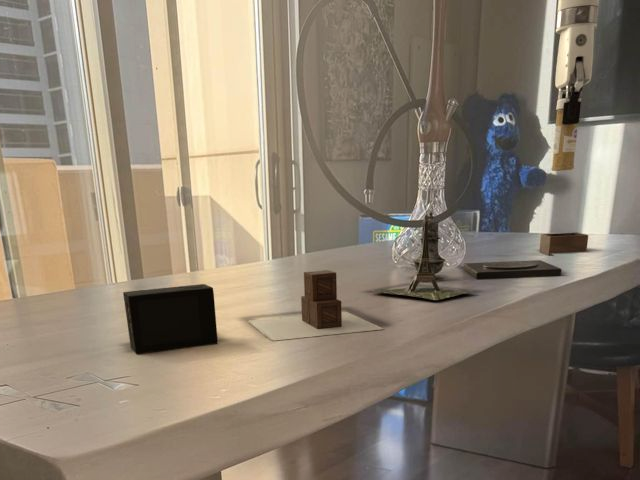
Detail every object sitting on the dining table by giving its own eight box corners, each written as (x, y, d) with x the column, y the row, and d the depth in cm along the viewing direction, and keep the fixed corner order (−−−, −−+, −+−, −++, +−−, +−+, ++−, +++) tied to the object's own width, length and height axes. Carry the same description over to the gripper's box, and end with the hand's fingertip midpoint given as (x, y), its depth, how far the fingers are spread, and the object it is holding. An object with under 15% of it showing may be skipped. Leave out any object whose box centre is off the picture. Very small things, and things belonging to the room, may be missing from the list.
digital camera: (207, 336, 91) (202, 282, 88) (218, 344, 86) (213, 286, 84) (129, 346, 88) (121, 290, 85) (136, 354, 83) (127, 295, 81)
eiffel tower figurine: (367, 294, 117) (366, 209, 111) (408, 287, 122) (410, 206, 117) (436, 303, 106) (439, 209, 100) (478, 294, 111) (483, 205, 106)
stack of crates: (247, 321, 100) (243, 272, 97) (345, 311, 103) (344, 263, 100) (272, 341, 86) (269, 284, 84) (384, 329, 90) (384, 274, 87)
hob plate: (539, 266, 139) (540, 258, 138) (560, 275, 125) (561, 267, 125) (463, 269, 141) (464, 261, 140) (476, 279, 127) (476, 270, 126)
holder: (575, 250, 162) (577, 232, 160) (586, 253, 154) (588, 235, 153) (539, 252, 163) (540, 234, 161) (548, 255, 155) (550, 236, 154)
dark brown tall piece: (406, 280, 131) (407, 212, 126) (433, 277, 133) (435, 210, 128) (423, 283, 126) (425, 212, 121) (451, 280, 128) (454, 210, 123)
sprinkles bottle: (572, 169, 144) (579, 96, 138) (549, 171, 146) (555, 98, 141) (575, 169, 147) (582, 98, 142) (552, 170, 150) (558, 100, 144)
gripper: (610, 10, 128) (598, 120, 135) (584, 28, 143) (574, 126, 150) (568, 13, 129) (558, 123, 136) (546, 31, 144) (538, 129, 151)
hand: (566, 124), depth 143 cm, fingers closed on sprinkles bottle, 4 cm apart
